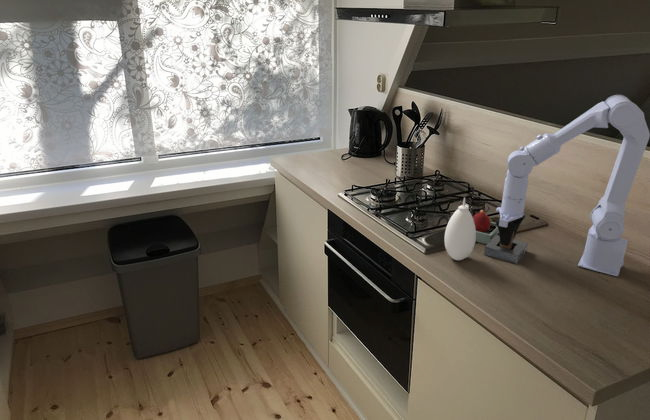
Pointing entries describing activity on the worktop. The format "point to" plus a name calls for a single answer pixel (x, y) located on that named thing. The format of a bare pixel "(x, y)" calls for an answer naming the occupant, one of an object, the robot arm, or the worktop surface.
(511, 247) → the tan upright cylinder
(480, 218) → the onion
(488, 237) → the case
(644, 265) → the worktop surface
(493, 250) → the gray square socket block
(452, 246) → the sauce bottle
